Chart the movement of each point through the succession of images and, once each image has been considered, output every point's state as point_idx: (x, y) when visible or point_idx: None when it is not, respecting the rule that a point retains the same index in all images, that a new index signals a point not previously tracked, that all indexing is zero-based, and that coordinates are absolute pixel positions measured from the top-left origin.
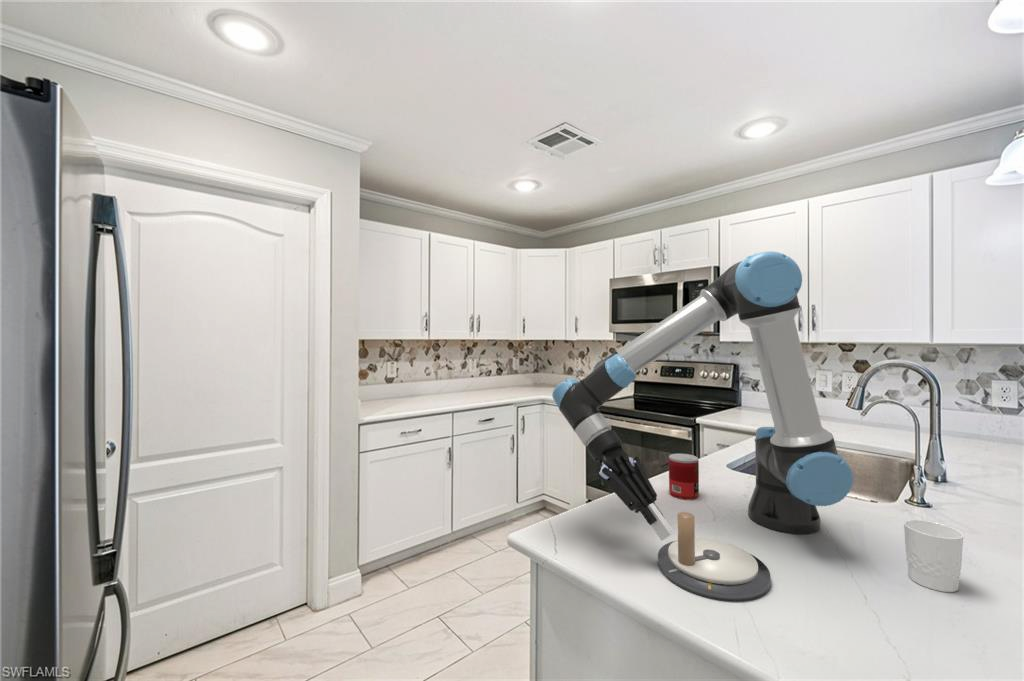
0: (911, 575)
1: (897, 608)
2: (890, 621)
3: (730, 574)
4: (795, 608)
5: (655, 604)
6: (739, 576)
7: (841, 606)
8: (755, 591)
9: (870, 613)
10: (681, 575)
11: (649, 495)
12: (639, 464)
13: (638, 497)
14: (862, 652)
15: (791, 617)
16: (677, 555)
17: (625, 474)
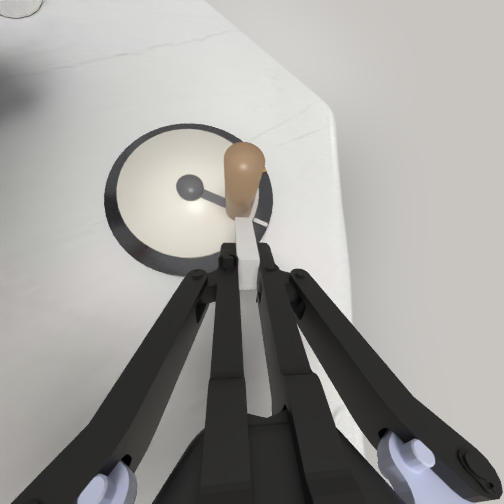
0: (22, 7)
1: (124, 31)
2: (160, 37)
3: (225, 151)
4: (208, 104)
5: (325, 216)
6: (221, 141)
7: (165, 71)
8: (223, 131)
9: (158, 50)
10: (261, 210)
11: (227, 277)
12: (87, 441)
13: (283, 286)
14: (238, 54)
15: (230, 104)
16: (230, 228)
17: (314, 376)
